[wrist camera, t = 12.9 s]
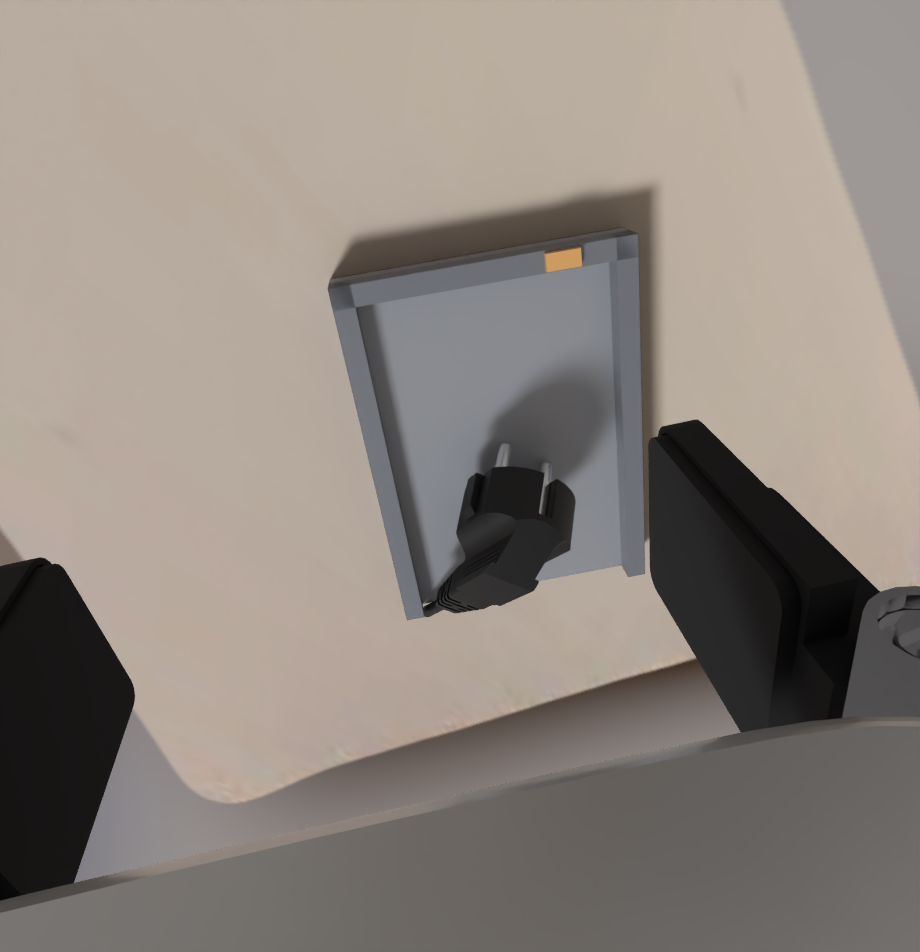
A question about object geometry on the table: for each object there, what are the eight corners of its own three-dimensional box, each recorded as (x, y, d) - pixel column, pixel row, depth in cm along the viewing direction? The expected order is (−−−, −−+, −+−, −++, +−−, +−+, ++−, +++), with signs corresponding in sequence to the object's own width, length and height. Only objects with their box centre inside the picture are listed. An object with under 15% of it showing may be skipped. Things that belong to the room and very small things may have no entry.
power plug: (380, 609, 39) (483, 545, 29) (409, 495, 43) (509, 405, 33) (465, 639, 41) (590, 589, 31) (486, 527, 44) (602, 451, 35)
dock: (329, 279, 32) (327, 290, 30) (623, 227, 32) (640, 235, 30) (405, 598, 41) (407, 623, 39) (633, 554, 41) (646, 576, 39)
